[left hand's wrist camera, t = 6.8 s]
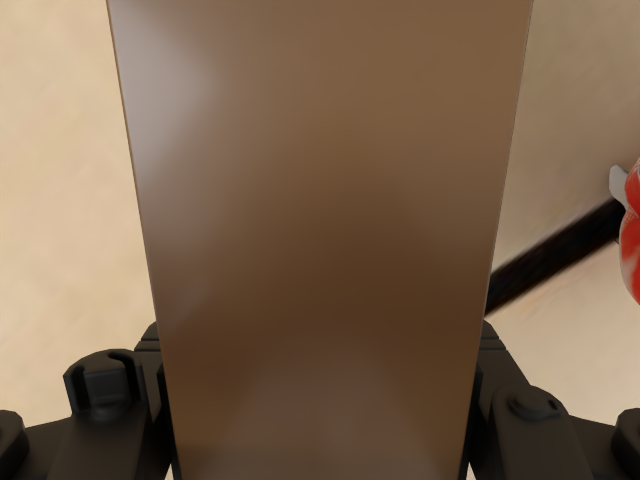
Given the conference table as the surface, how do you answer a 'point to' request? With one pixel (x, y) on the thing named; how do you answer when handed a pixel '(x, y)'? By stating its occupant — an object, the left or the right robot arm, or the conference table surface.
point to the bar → (319, 222)
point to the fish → (628, 224)
